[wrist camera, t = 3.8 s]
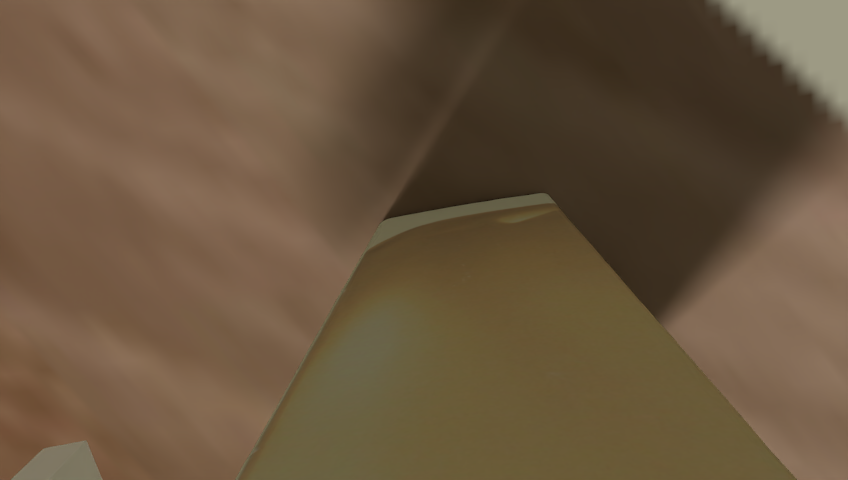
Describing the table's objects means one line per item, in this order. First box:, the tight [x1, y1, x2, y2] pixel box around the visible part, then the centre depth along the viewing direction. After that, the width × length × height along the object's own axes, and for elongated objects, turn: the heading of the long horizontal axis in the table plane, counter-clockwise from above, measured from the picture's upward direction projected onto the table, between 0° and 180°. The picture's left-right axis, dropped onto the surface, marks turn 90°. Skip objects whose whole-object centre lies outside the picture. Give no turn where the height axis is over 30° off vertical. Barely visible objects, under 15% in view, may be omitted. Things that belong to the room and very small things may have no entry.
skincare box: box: [235, 193, 797, 480], centre depth 10 cm, size 6×4×12 cm
